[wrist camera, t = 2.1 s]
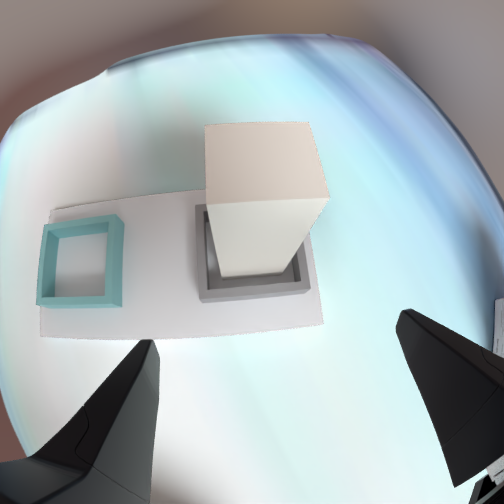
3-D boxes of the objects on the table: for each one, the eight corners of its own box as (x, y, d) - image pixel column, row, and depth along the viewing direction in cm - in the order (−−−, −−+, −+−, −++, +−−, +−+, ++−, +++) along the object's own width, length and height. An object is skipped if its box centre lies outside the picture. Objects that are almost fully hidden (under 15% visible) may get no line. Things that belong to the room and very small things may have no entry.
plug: (280, 275, 21) (329, 197, 10) (222, 280, 21) (206, 205, 9) (273, 219, 23) (304, 110, 11) (218, 223, 22) (204, 112, 11)
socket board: (297, 189, 25) (304, 170, 22) (319, 324, 21) (332, 322, 18) (55, 214, 23) (40, 201, 20) (46, 336, 19) (26, 334, 16)
